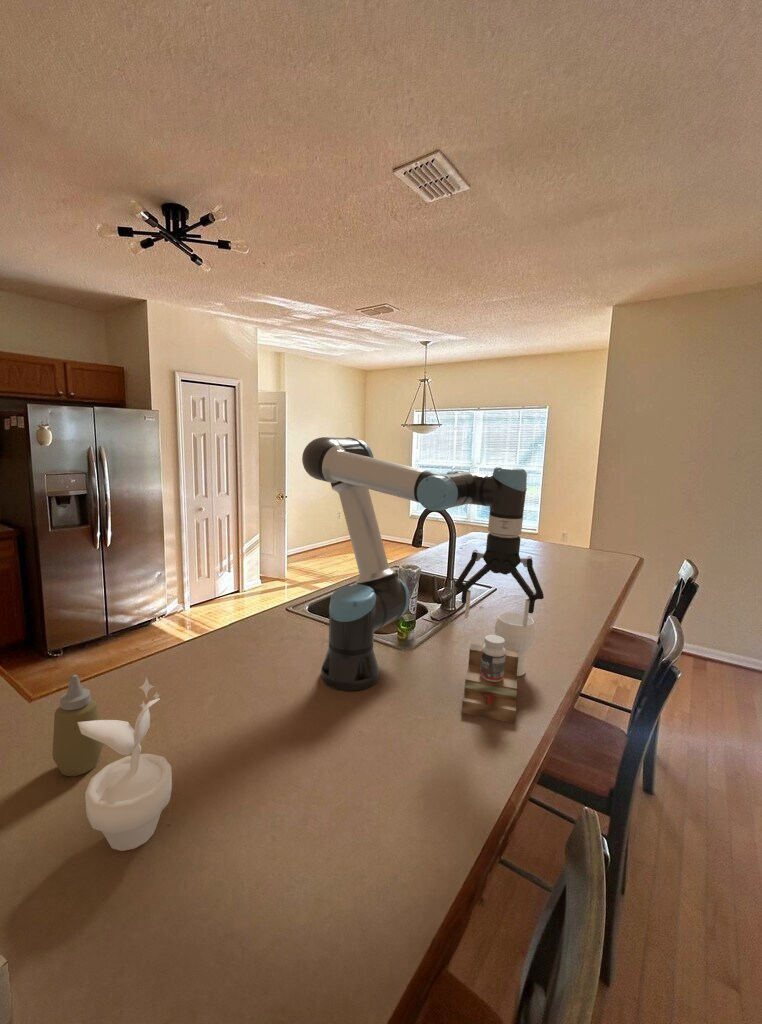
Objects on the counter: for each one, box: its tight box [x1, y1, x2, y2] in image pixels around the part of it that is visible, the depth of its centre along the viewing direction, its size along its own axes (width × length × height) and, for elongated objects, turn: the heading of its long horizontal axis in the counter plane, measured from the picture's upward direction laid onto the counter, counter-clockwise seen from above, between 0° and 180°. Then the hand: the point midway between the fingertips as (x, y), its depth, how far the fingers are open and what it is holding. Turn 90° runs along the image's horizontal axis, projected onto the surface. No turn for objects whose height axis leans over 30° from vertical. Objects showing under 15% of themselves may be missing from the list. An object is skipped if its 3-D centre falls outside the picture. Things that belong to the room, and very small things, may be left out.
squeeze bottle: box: [52, 674, 105, 777], centre depth 84 cm, size 8×8×18 cm
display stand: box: [461, 643, 518, 724], centre depth 113 cm, size 12×16×10 cm
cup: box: [494, 611, 536, 677], centre depth 128 cm, size 11×11×15 cm
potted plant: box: [78, 675, 173, 852], centre depth 70 cm, size 13×12×25 cm
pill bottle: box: [480, 634, 506, 682], centre depth 112 cm, size 6×6×10 cm
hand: (495, 620), depth 111 cm, fingers open, 13 cm apart
